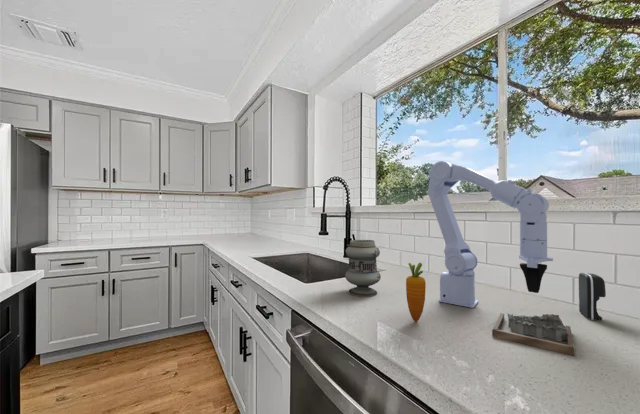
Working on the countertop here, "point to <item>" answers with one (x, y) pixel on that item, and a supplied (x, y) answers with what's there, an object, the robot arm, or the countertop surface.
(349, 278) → the apothecary jar
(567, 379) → the countertop surface
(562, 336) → the egg carton
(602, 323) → the countertop surface
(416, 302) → the carrot
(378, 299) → the countertop surface
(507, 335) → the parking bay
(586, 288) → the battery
